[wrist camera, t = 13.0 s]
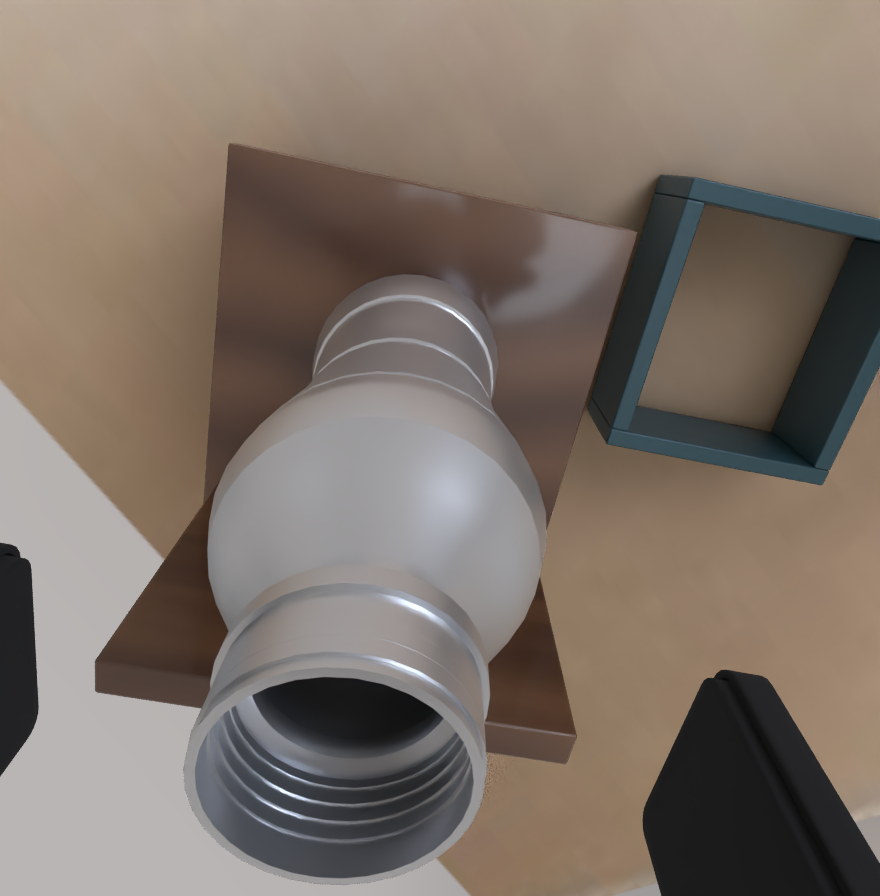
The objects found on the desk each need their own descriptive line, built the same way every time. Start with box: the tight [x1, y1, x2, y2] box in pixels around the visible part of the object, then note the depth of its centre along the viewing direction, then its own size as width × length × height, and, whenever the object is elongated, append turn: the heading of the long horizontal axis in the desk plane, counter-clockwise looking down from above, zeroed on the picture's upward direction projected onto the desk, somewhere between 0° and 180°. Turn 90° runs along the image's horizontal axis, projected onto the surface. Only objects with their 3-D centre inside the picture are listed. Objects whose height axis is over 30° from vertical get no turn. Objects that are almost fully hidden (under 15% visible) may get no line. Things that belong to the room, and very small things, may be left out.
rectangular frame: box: [588, 175, 880, 485], centre depth 31 cm, size 12×11×4 cm
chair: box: [95, 143, 637, 764], centre depth 25 cm, size 15×15×18 cm
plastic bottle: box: [184, 274, 547, 885], centre depth 17 cm, size 6×7×20 cm
